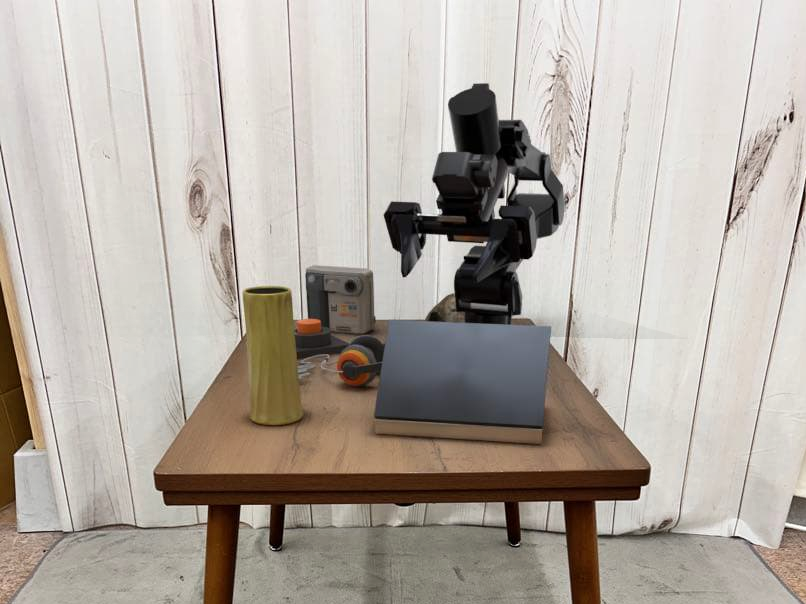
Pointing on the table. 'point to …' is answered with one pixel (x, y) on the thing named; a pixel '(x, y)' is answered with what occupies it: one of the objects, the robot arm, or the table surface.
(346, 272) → the camera
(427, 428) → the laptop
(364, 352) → the headphones
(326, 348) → the dock
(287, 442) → the table surface
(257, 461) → the table surface
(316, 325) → the power button
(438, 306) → the fossilized seashell
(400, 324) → the black flat panel
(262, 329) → the vase
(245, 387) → the table surface
